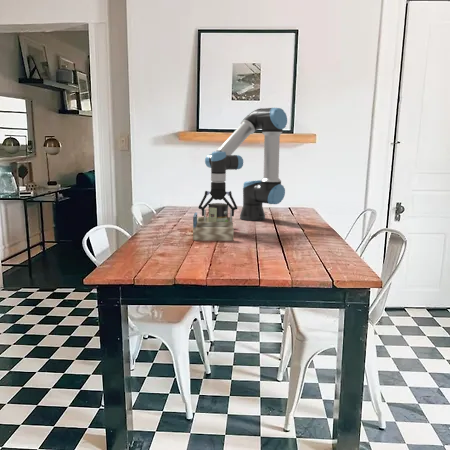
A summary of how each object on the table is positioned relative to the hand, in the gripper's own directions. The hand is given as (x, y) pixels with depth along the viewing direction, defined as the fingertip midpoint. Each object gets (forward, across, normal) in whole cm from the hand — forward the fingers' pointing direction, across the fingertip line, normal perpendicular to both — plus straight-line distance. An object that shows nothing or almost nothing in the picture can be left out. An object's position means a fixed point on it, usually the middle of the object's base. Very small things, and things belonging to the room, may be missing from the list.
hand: (217, 222), depth 245 cm
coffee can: (+5, 0, 0) cm, 5 cm away
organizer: (+5, +1, +7) cm, 9 cm away
